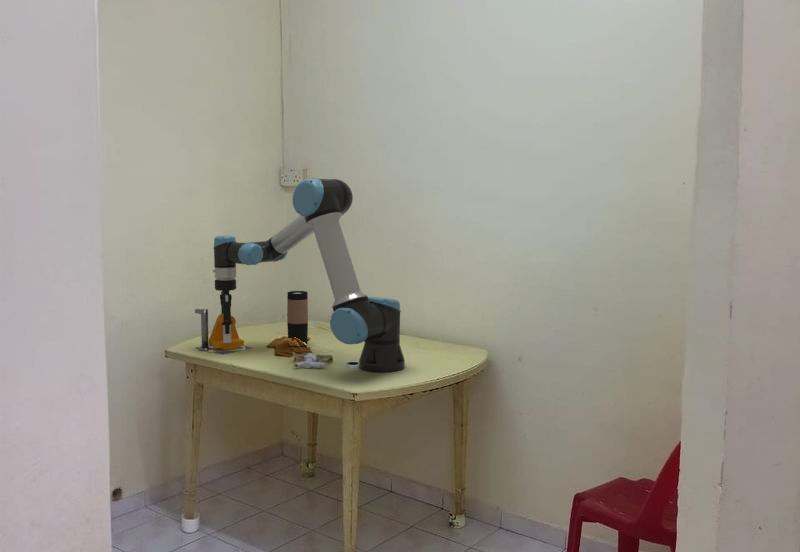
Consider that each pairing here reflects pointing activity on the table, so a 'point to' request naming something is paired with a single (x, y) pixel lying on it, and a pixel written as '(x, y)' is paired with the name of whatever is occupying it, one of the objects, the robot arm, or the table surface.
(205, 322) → the grey smooth fixture
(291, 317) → the travel mug
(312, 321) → the table surface
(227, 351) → the mat
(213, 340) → the bracket
